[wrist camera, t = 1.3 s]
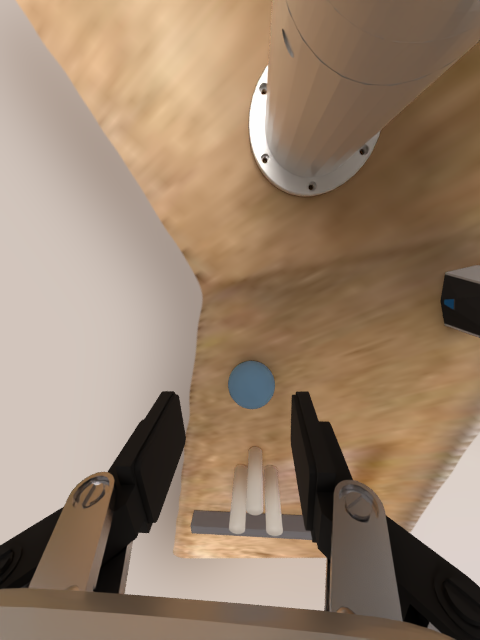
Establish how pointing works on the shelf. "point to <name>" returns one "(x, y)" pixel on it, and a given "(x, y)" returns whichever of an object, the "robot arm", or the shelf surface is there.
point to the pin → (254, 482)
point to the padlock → (462, 300)
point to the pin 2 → (272, 502)
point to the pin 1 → (239, 500)
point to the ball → (251, 384)
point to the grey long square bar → (247, 525)
